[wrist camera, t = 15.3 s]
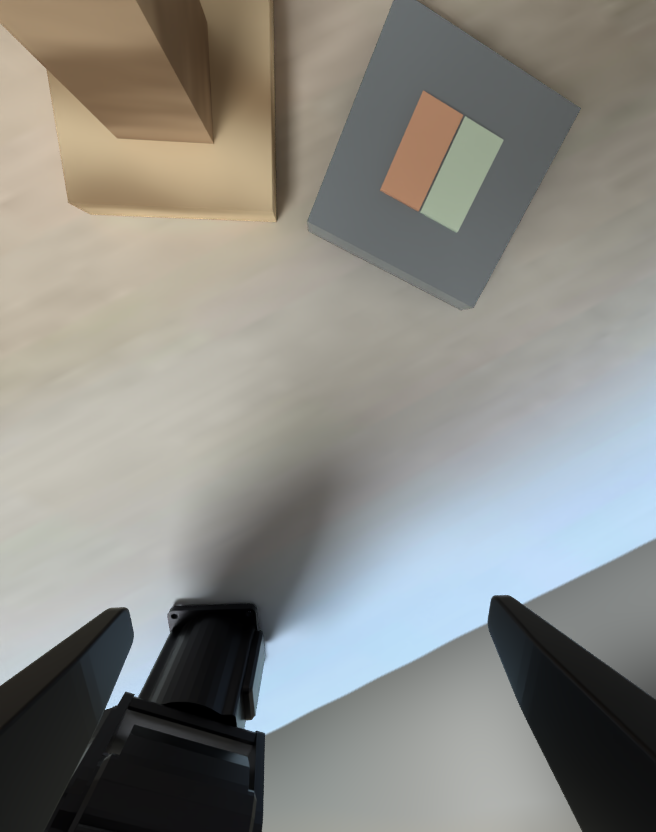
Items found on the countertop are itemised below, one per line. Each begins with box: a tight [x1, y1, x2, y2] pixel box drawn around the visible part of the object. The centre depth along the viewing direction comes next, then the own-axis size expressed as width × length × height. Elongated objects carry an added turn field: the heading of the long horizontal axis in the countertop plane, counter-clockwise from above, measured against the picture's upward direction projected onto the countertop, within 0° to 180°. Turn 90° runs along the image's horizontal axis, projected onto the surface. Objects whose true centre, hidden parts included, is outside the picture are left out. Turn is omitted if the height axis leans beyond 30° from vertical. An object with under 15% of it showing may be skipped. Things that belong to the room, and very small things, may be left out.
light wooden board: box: [47, 0, 276, 222], centre depth 15 cm, size 10×10×2 cm
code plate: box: [307, 0, 581, 310], centre depth 16 cm, size 10×10×2 cm
